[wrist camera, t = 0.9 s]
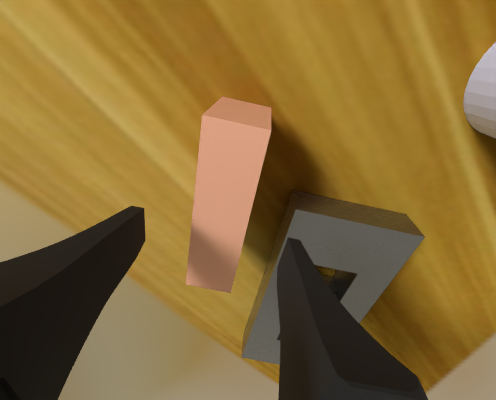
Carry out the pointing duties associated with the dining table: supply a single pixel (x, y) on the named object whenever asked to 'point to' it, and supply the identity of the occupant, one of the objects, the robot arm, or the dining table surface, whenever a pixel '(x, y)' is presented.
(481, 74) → the robot arm
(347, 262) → the rail
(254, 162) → the clip
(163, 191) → the dining table surface
